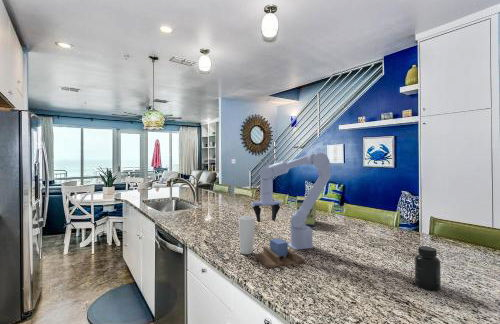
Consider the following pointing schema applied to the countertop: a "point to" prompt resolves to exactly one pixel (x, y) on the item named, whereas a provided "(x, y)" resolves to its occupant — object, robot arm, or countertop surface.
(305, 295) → the countertop surface
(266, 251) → the shelf frame
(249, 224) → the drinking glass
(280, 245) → the shelf block
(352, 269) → the countertop surface
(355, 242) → the countertop surface
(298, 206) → the protein box
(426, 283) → the supplement bottle
